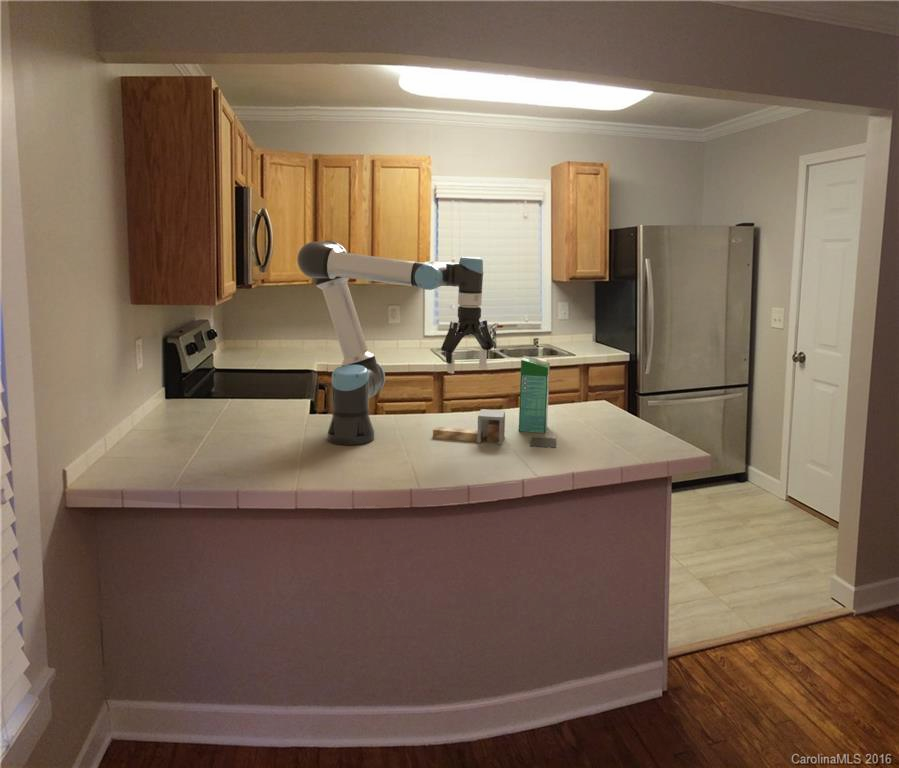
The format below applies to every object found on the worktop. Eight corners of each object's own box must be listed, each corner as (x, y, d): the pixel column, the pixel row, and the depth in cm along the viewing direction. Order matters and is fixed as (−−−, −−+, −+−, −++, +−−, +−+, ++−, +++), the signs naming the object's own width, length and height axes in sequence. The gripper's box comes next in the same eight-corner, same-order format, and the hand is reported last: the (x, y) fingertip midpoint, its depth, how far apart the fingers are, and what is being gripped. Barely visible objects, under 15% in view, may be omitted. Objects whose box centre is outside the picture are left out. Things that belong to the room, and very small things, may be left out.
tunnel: (477, 442, 231) (477, 415, 229) (480, 435, 240) (481, 409, 238) (502, 444, 230) (502, 417, 228) (504, 436, 239) (505, 410, 237)
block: (487, 441, 233) (487, 424, 231) (488, 437, 238) (489, 420, 236) (502, 442, 232) (503, 424, 231) (503, 438, 237) (504, 420, 235)
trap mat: (530, 446, 228) (530, 445, 228) (531, 437, 238) (531, 437, 238) (555, 447, 227) (555, 447, 227) (556, 439, 237) (556, 438, 237)
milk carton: (545, 433, 243) (548, 360, 238) (518, 431, 245) (521, 359, 240) (547, 426, 252) (550, 356, 247) (521, 424, 254) (523, 354, 248)
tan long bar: (432, 438, 237) (432, 429, 236) (436, 435, 241) (436, 426, 240) (480, 442, 233) (480, 433, 232) (482, 439, 237) (483, 430, 236)
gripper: (446, 308, 219) (443, 376, 224) (506, 305, 235) (502, 369, 239) (431, 306, 225) (429, 372, 230) (490, 303, 240) (487, 365, 245)
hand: (466, 371), depth 235 cm, fingers open, 13 cm apart
